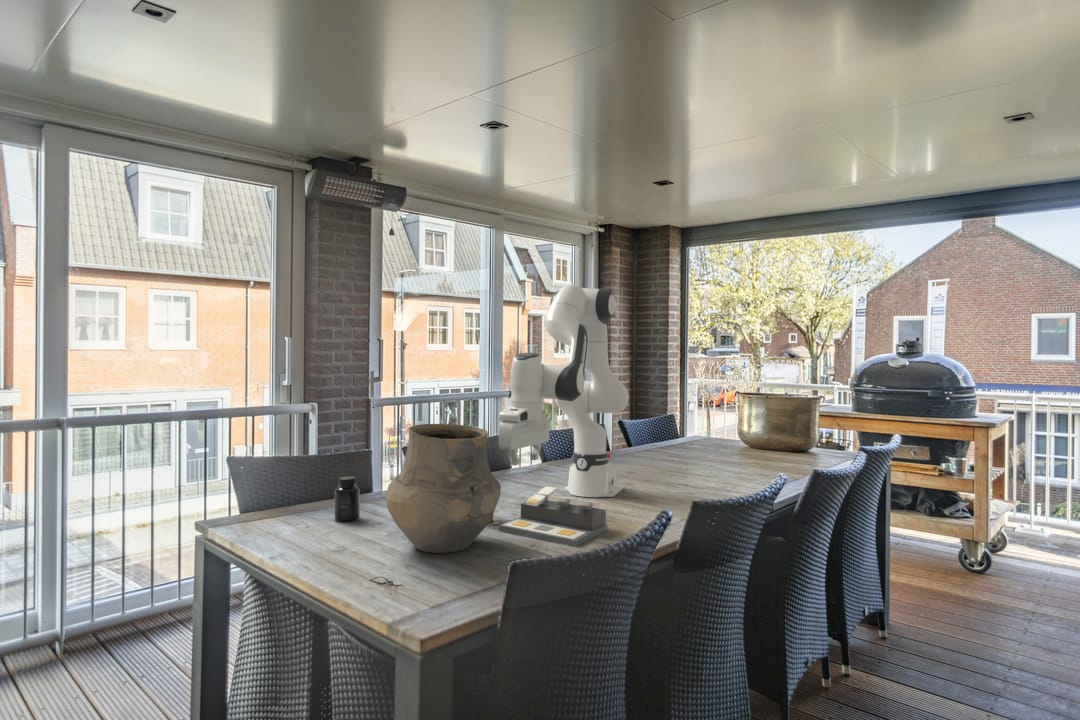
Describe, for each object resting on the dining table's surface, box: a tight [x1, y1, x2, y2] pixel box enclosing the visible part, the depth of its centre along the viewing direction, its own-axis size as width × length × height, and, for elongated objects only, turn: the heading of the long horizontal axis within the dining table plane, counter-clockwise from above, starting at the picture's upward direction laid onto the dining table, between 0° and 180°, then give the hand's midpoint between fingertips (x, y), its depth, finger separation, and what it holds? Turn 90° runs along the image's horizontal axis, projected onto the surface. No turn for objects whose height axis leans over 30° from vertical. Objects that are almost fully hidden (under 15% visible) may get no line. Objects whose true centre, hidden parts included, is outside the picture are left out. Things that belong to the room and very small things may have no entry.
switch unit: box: [498, 500, 608, 548], centre depth 175 cm, size 18×24×6 cm
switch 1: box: [525, 485, 558, 506], centre depth 182 cm, size 11×4×2 cm, turn 148°
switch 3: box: [570, 499, 601, 510], centre depth 175 cm, size 11×4×2 cm, turn 148°
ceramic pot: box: [385, 423, 502, 554], centre depth 159 cm, size 28×28×30 cm
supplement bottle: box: [334, 475, 361, 523], centre depth 182 cm, size 7×7×12 cm
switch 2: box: [548, 495, 579, 507], centre depth 179 cm, size 11×4×2 cm, turn 148°
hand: (525, 462), depth 175 cm, fingers open, 8 cm apart
